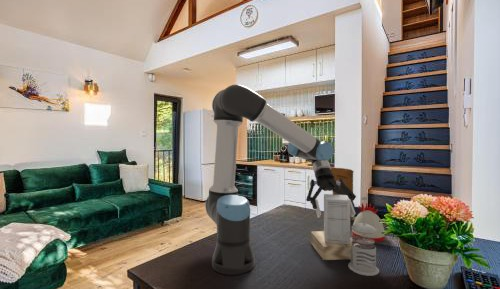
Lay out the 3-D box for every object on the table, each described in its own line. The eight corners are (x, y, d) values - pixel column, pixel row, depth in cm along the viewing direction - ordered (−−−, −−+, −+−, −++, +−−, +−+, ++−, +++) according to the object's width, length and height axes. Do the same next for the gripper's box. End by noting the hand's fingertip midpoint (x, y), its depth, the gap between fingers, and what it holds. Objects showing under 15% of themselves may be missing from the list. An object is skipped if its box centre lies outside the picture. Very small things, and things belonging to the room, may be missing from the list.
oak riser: (323, 260, 92) (323, 246, 92) (310, 243, 107) (310, 231, 107) (360, 258, 93) (360, 245, 93) (342, 242, 108) (342, 230, 108)
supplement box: (347, 235, 103) (348, 194, 102) (351, 245, 94) (351, 200, 93) (323, 233, 105) (323, 193, 104) (324, 242, 96) (324, 198, 95)
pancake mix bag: (347, 222, 134) (348, 169, 133) (326, 212, 152) (327, 166, 151) (358, 221, 136) (358, 169, 135) (336, 211, 154) (336, 165, 153)
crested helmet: (353, 228, 125) (353, 198, 125) (384, 233, 119) (385, 201, 118) (350, 238, 113) (350, 205, 113) (385, 244, 107) (385, 209, 106)
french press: (383, 277, 81) (384, 200, 81) (345, 273, 83) (346, 198, 83) (374, 262, 91) (375, 193, 90) (340, 259, 93) (341, 192, 92)
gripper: (347, 176, 116) (363, 219, 101) (293, 177, 114) (303, 220, 100) (352, 166, 111) (371, 210, 96) (297, 166, 109) (307, 211, 94)
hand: (336, 215), depth 98 cm, fingers open, 13 cm apart
